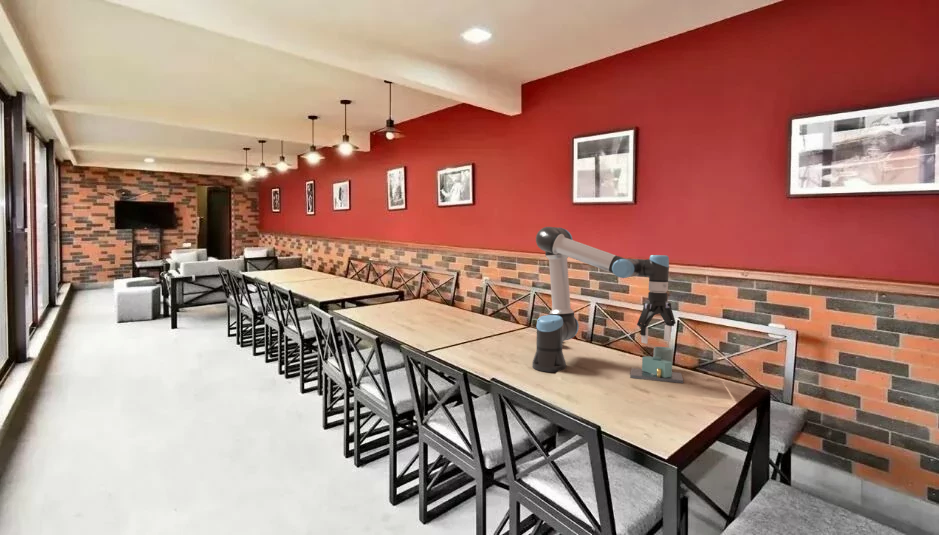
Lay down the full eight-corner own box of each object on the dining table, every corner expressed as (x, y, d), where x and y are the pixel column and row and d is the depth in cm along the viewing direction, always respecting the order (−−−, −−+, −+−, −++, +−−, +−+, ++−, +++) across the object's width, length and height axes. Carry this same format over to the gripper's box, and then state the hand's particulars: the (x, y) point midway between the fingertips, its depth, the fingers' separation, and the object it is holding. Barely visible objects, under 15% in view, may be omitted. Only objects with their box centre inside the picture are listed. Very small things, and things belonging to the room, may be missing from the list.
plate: (630, 377, 188) (630, 366, 188) (631, 370, 199) (631, 360, 199) (683, 383, 181) (683, 371, 180) (680, 375, 192) (681, 364, 192)
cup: (674, 373, 195) (674, 350, 195) (655, 372, 197) (655, 349, 196) (669, 369, 203) (670, 347, 202) (651, 368, 204) (652, 346, 204)
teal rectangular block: (642, 370, 194) (642, 354, 194) (648, 369, 196) (649, 353, 195) (664, 377, 183) (665, 360, 183) (671, 376, 185) (672, 359, 185)
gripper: (643, 293, 180) (641, 346, 181) (686, 292, 191) (683, 341, 192) (629, 291, 186) (627, 342, 187) (671, 290, 197) (669, 338, 198)
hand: (655, 342), depth 189 cm, fingers open, 13 cm apart
